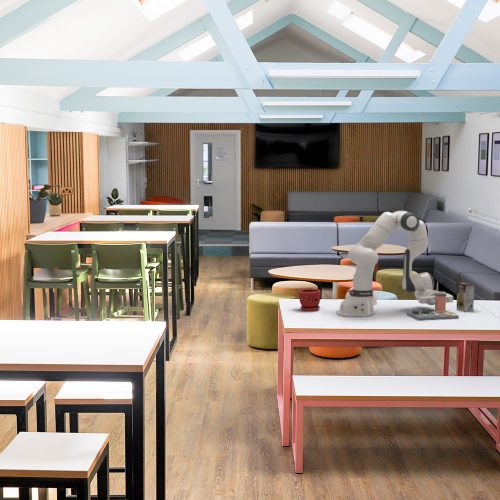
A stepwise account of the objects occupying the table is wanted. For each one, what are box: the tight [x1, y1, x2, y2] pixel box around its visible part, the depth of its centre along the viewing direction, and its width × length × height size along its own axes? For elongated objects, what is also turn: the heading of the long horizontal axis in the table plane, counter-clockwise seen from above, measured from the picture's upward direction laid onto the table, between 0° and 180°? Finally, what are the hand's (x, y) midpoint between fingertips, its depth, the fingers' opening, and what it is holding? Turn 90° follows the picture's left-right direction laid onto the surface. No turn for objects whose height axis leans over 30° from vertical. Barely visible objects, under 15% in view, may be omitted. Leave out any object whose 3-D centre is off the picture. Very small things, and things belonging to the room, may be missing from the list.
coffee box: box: [456, 281, 475, 313], centre depth 460 cm, size 9×6×16 cm
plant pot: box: [298, 288, 322, 312], centre depth 466 cm, size 13×13×12 cm
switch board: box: [406, 309, 460, 322], centre depth 442 cm, size 24×17×3 cm
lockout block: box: [434, 292, 447, 312], centre depth 445 cm, size 5×5×10 cm
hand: (441, 301), depth 444 cm, fingers closed on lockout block, 4 cm apart
